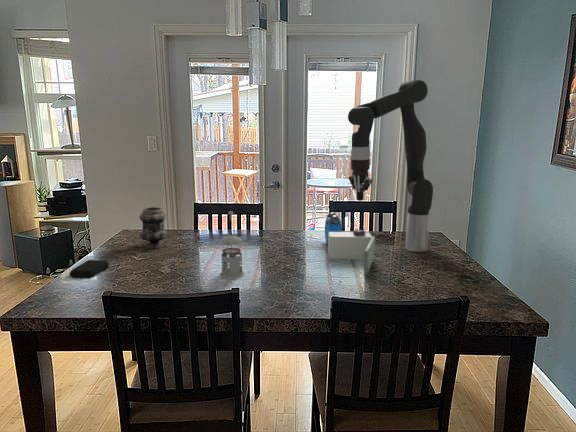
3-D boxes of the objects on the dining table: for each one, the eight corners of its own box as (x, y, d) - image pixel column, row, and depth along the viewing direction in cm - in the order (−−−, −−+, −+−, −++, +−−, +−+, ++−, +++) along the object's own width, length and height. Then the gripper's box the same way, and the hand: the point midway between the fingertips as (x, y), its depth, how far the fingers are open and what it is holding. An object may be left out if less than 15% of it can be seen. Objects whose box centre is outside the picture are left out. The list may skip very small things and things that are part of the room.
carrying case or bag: (95, 279, 158) (113, 266, 173) (94, 272, 158) (113, 259, 172) (67, 278, 159) (88, 265, 173) (66, 271, 158) (87, 258, 173)
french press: (224, 280, 157) (222, 214, 152) (214, 271, 167) (212, 208, 162) (248, 276, 162) (247, 212, 156) (237, 267, 172) (236, 206, 166)
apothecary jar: (173, 244, 202) (171, 207, 198) (152, 251, 192) (150, 212, 188) (155, 240, 208) (153, 204, 204) (135, 246, 198) (132, 209, 194)
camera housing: (368, 253, 190) (369, 229, 187) (371, 259, 182) (372, 233, 180) (327, 253, 191) (328, 228, 188) (329, 258, 183) (329, 233, 180)
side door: (371, 258, 182) (372, 236, 180) (373, 259, 182) (374, 236, 179) (363, 276, 161) (364, 251, 159) (366, 276, 161) (367, 251, 159)
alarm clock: (341, 248, 198) (342, 217, 195) (328, 248, 198) (329, 217, 194) (336, 240, 211) (337, 211, 207) (323, 240, 210) (324, 211, 207)
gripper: (378, 158, 167) (377, 201, 171) (357, 156, 178) (357, 197, 182) (363, 159, 163) (363, 204, 167) (343, 157, 175) (342, 199, 179)
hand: (359, 200), depth 175 cm, fingers closed
